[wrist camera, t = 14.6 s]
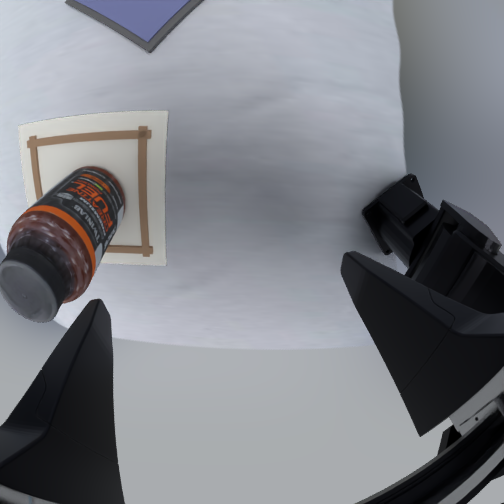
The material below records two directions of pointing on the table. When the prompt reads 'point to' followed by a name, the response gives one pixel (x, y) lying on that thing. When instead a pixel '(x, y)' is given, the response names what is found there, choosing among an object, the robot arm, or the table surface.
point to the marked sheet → (116, 163)
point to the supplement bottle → (61, 243)
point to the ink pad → (138, 17)
